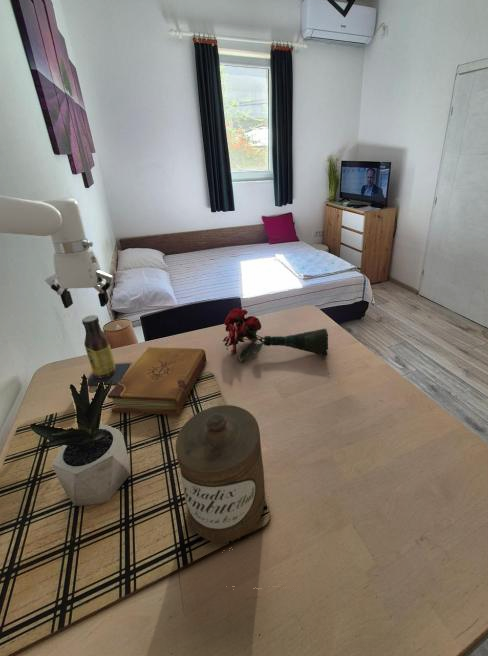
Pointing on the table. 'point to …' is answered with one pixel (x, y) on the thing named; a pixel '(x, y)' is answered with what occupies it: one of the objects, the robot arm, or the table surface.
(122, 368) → the mat
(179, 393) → the diary
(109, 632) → the table surface
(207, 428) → the wooden container
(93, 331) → the sauce bottle
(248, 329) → the carnation
